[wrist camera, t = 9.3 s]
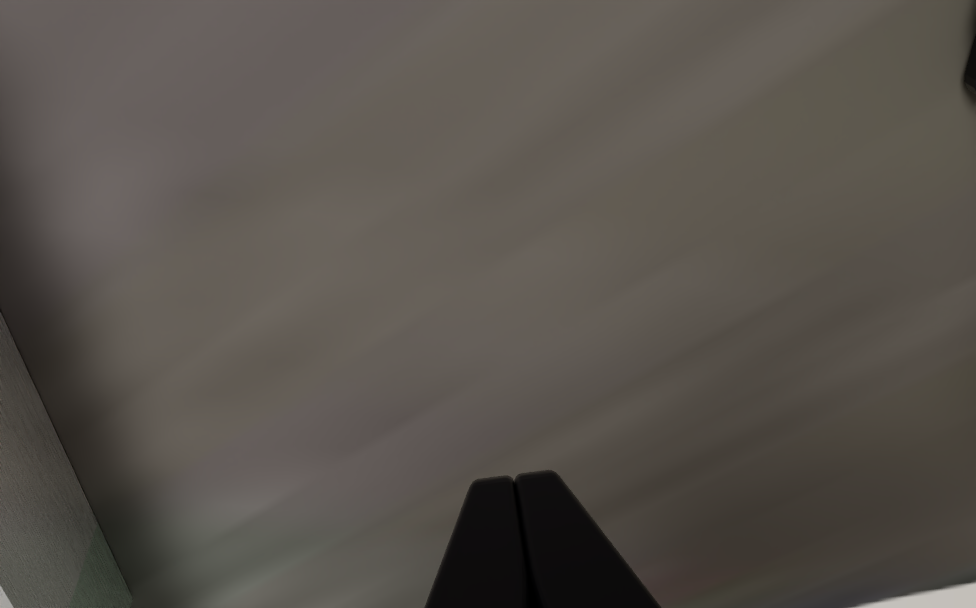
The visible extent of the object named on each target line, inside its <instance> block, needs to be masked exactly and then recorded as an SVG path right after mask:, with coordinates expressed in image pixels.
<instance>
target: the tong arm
mask: <svg viewBox="0 0 976 608" xmlns="http://www.w3.org/2000/svg"><path fill="white" fill-rule="evenodd" d="M132 600H133V598H132V596H131V594H130V592H129V590H128V587H127V585H126V583H125V581H124V579H123V577H122V574H121V572H120V570H119V568H118V566H117V563H116V561H115V559H114V557H113V555H112V553H111V550H110V548H109V546H108V544H107V542H106V540H105V537H104V535H103V533H102V531H101V529H100V527H99V524H98V522H97V520H96V518H95V516H94V514H93V511H92V509H91V507H90V505H89V503H88V501H87V498H86V496H85V494H84V492H83V490H82V488H81V485H80V483H79V481H78V479H77V477H76V475H75V472H74V470H73V468H72V466H71V464H70V462H69V459H68V457H67V455H66V453H65V451H64V449H63V446H62V444H61V442H60V440H59V438H58V436H57V433H56V431H55V429H54V427H53V425H52V423H51V420H50V418H49V416H48V414H47V412H46V409H45V407H44V405H43V403H42V401H41V399H40V396H39V394H38V392H37V390H36V388H35V386H34V383H33V381H32V379H31V377H30V375H29V373H28V370H27V368H26V366H25V364H24V362H23V360H22V357H21V355H20V353H19V351H18V349H17V347H16V344H15V342H14V340H13V338H12V336H11V334H10V331H9V329H8V327H7V325H6V323H5V321H4V318H3V316H2V314H1V312H0V608H130V607H131V604H132Z"/></svg>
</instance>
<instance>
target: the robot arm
mask: <svg viewBox="0 0 976 608" xmlns="http://www.w3.org/2000/svg"><path fill="white" fill-rule="evenodd" d="M964 82H965V85H966V87H967V89H969V90H970V91H971V92H973V93H974V94H976V36H975V39H974V43H973V47H972V50H971V54H970V58H969V61H968V65H967V68H966V72H965V80H964ZM514 484H515V485H514ZM425 608H661V607H660V605H659V604H658V603H657V601H656V600H655V599H654V598H653V596H652V595H651V594H650V592H649V591H648V590H647V588H646V587H645V586H644V585H643V583H642V582H641V581H640V579H639V578H638V577H637V576H636V574H635V573H634V572H633V570H632V569H631V568H630V566H629V565H628V564H627V563H626V561H625V560H624V559H623V557H622V556H621V555H620V554H619V552H618V551H617V550H616V548H615V547H614V546H613V545H612V543H611V542H610V541H609V539H608V538H607V537H606V535H605V534H604V533H603V532H602V530H601V529H600V528H599V526H598V525H597V524H596V523H595V521H594V520H593V519H592V517H591V516H590V515H589V514H588V512H587V511H586V510H585V508H584V507H583V506H582V504H581V503H580V502H579V501H578V499H577V498H576V497H575V495H574V494H573V493H572V492H571V490H570V489H569V488H568V486H567V485H566V484H565V482H564V481H563V480H562V479H561V477H560V476H559V475H558V474H557V473H556V472H554V471H552V470H545V471H537V472H529V473H521V474H519V475H517V476H516V478H515V481H513V479H512V478H511V477H510V476H498V477H490V478H482V479H477V480H475V481H473V482H472V484H471V485H470V487H469V490H468V492H467V495H466V498H465V500H464V503H463V506H462V508H461V511H460V514H459V517H458V519H457V522H456V525H455V527H454V530H453V533H452V535H451V538H450V541H449V543H448V546H447V549H446V551H445V554H444V557H443V559H442V562H441V565H440V567H439V570H438V573H437V576H436V578H435V581H434V584H433V586H432V589H431V592H430V594H429V597H428V600H427V602H426V605H425Z"/></svg>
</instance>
